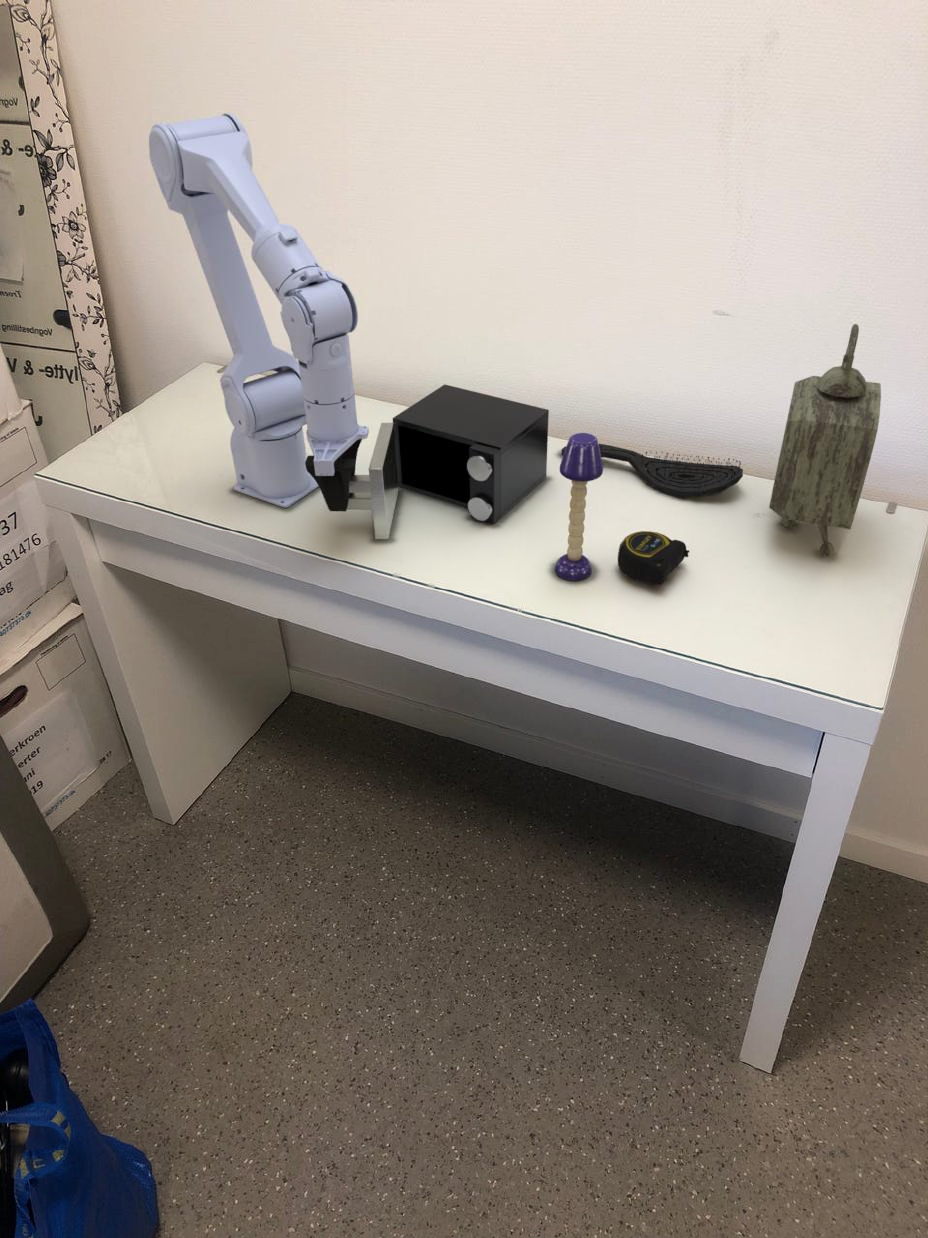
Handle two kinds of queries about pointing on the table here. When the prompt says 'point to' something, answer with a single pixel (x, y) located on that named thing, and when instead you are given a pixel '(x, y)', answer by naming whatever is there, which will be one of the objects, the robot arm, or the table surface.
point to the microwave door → (378, 483)
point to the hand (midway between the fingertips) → (341, 499)
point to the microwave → (472, 450)
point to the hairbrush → (677, 473)
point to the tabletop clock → (827, 447)
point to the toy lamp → (578, 500)
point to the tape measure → (650, 556)
